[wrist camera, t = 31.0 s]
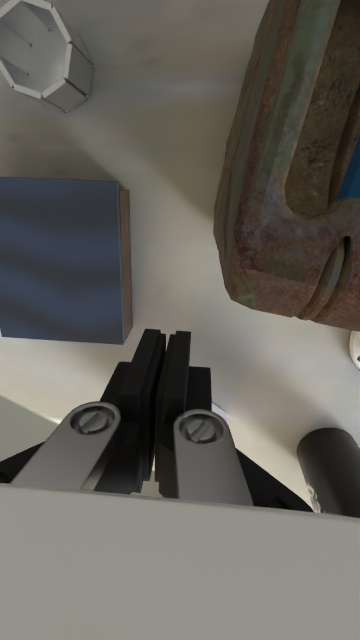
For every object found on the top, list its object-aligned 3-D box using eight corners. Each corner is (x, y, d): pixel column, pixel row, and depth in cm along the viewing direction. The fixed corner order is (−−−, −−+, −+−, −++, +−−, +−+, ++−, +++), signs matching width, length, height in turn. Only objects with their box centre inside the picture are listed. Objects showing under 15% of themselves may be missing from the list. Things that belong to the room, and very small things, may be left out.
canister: (276, 250, 36) (406, 358, 13) (205, 234, 36) (208, 317, 13) (341, 47, 29) (909, -535, 6) (251, 27, 28) (453, -649, 5)
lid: (-29, 175, 31) (-34, 175, 30) (118, 181, 30) (116, 181, 29) (5, 334, 38) (2, 336, 37) (124, 341, 37) (123, 345, 36)
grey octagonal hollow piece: (66, 11, 29) (37, -26, 24) (105, 87, 31) (86, 67, 26) (13, 55, 31) (-25, 28, 26) (53, 124, 33) (25, 112, 28)
